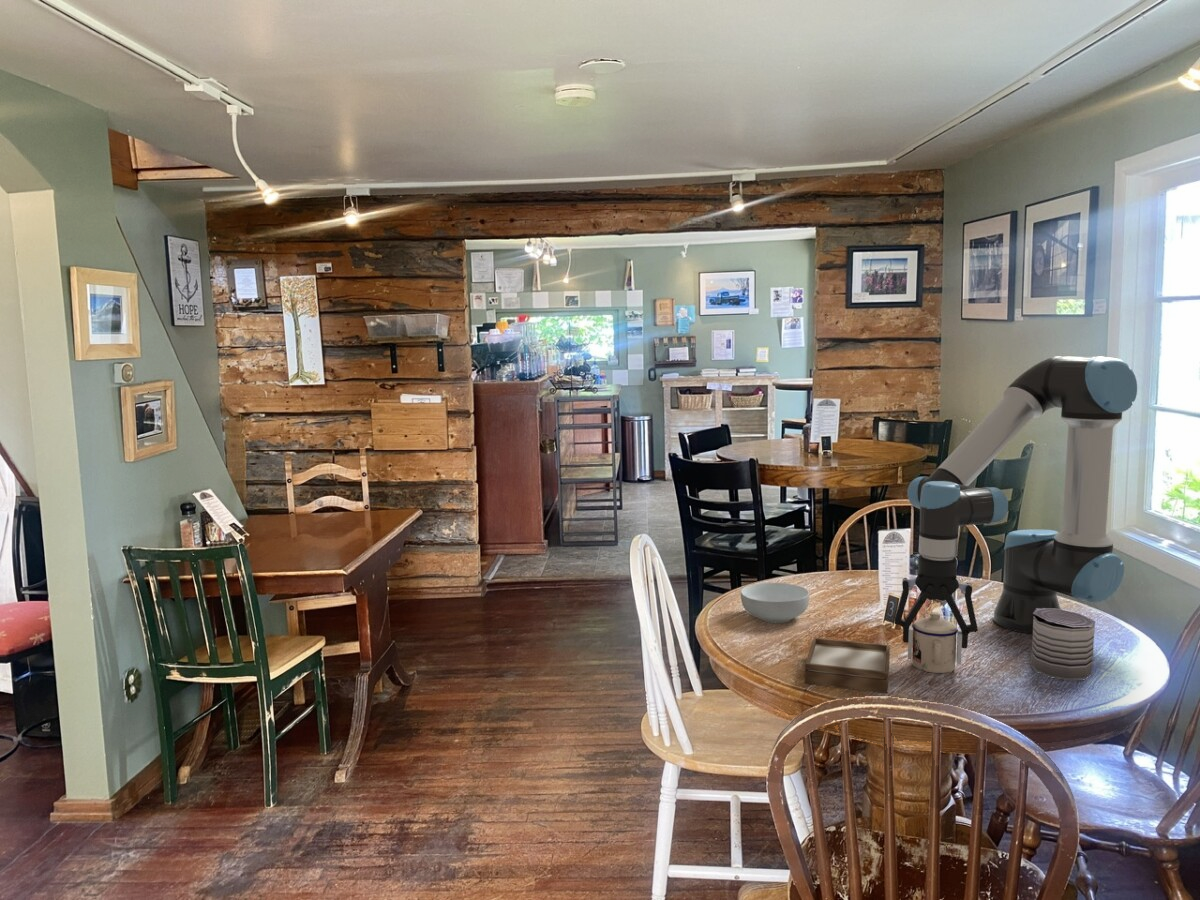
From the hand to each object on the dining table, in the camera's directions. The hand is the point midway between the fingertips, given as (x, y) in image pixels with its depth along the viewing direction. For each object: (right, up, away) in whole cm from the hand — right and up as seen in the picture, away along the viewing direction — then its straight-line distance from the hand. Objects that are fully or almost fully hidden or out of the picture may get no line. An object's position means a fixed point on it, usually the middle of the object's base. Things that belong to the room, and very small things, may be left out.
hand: (934, 659), depth 181 cm
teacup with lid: (0, -2, 0) cm, 2 cm away
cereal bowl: (-27, +2, +34) cm, 44 cm away
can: (+26, -2, -2) cm, 26 cm away
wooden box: (-19, -3, -1) cm, 19 cm away
